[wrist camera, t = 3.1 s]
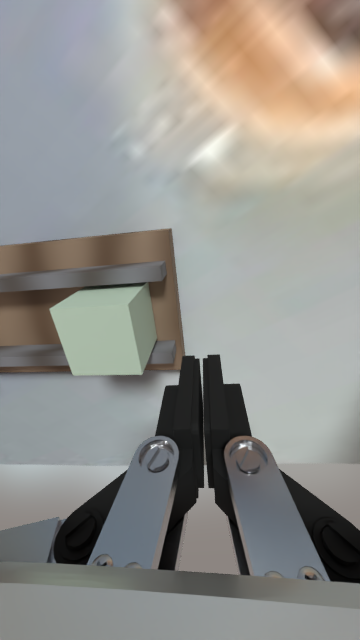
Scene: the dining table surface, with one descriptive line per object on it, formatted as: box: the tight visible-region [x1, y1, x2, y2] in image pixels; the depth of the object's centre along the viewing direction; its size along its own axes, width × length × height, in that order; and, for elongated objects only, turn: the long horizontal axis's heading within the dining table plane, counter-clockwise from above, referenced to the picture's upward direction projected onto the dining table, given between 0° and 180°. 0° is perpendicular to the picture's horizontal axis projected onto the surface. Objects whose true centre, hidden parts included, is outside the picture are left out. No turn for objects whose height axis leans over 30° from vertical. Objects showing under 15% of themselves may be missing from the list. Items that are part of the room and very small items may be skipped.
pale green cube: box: [49, 282, 157, 376], centre depth 17 cm, size 5×5×5 cm
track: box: [0, 228, 185, 372], centre depth 20 cm, size 23×12×6 cm, turn 96°
